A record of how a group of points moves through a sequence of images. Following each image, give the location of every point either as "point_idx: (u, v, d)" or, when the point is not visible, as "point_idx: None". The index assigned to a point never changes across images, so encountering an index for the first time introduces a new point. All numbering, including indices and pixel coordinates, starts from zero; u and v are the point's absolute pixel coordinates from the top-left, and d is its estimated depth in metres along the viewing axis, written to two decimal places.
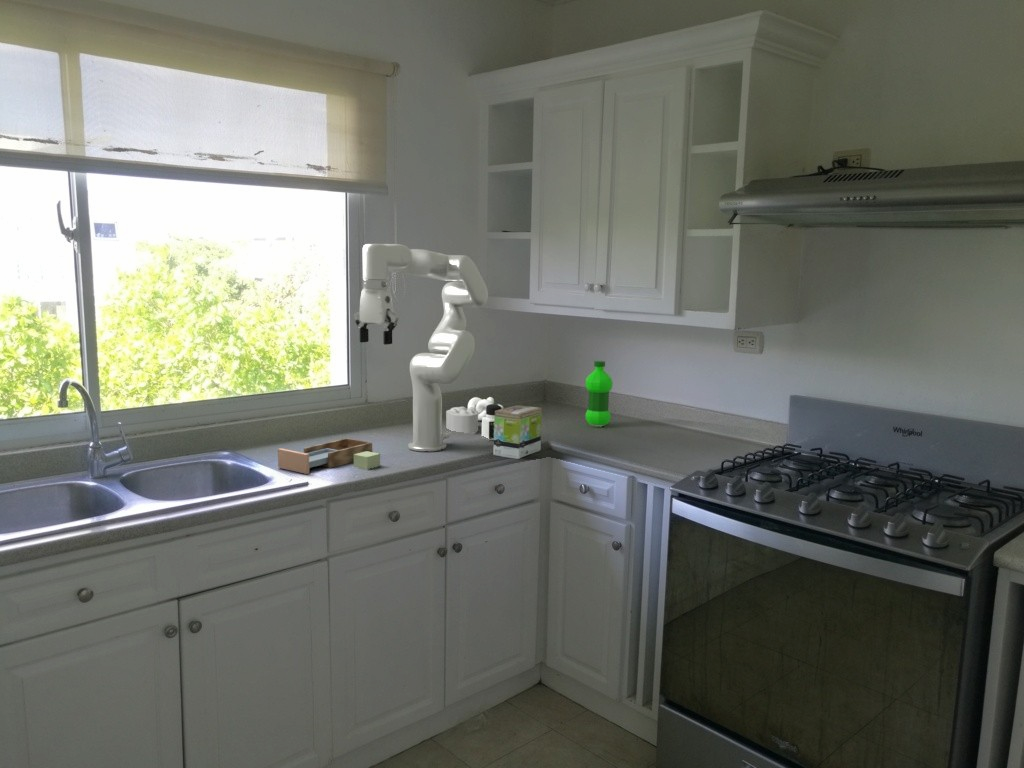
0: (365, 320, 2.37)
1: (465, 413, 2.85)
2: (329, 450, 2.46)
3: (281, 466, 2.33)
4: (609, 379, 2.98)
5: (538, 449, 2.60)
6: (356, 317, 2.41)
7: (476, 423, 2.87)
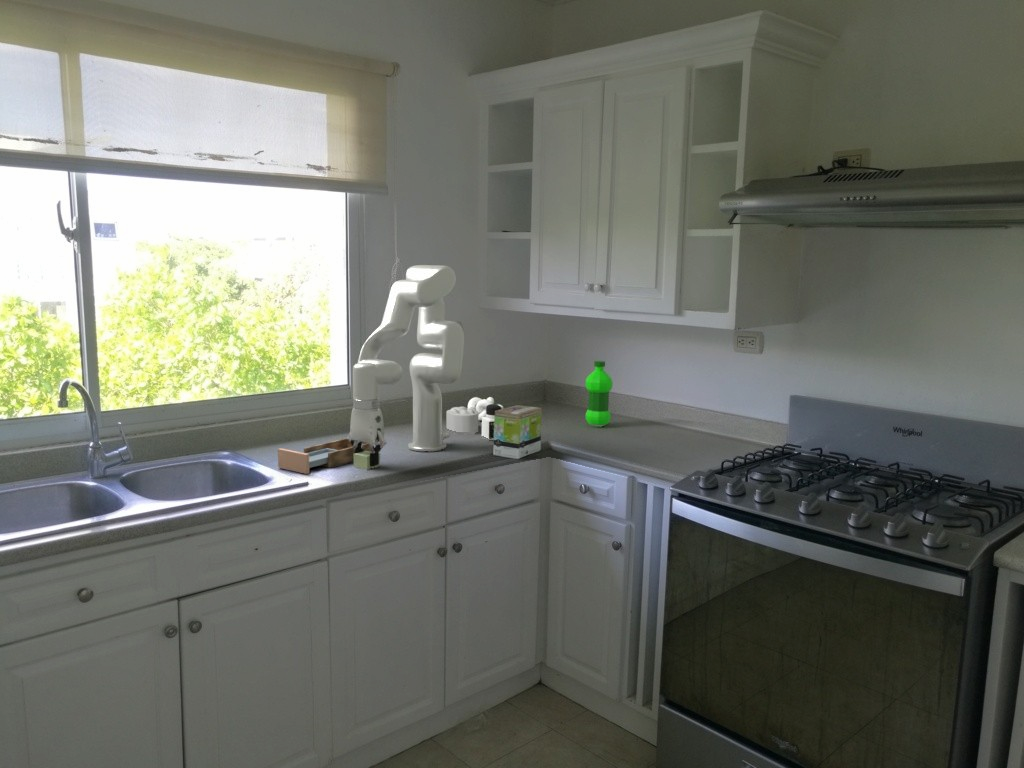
0: (356, 438, 2.36)
1: (465, 413, 2.85)
2: (329, 450, 2.46)
3: (281, 466, 2.33)
4: (609, 379, 2.98)
5: (538, 449, 2.60)
6: (350, 438, 2.39)
7: (476, 423, 2.87)
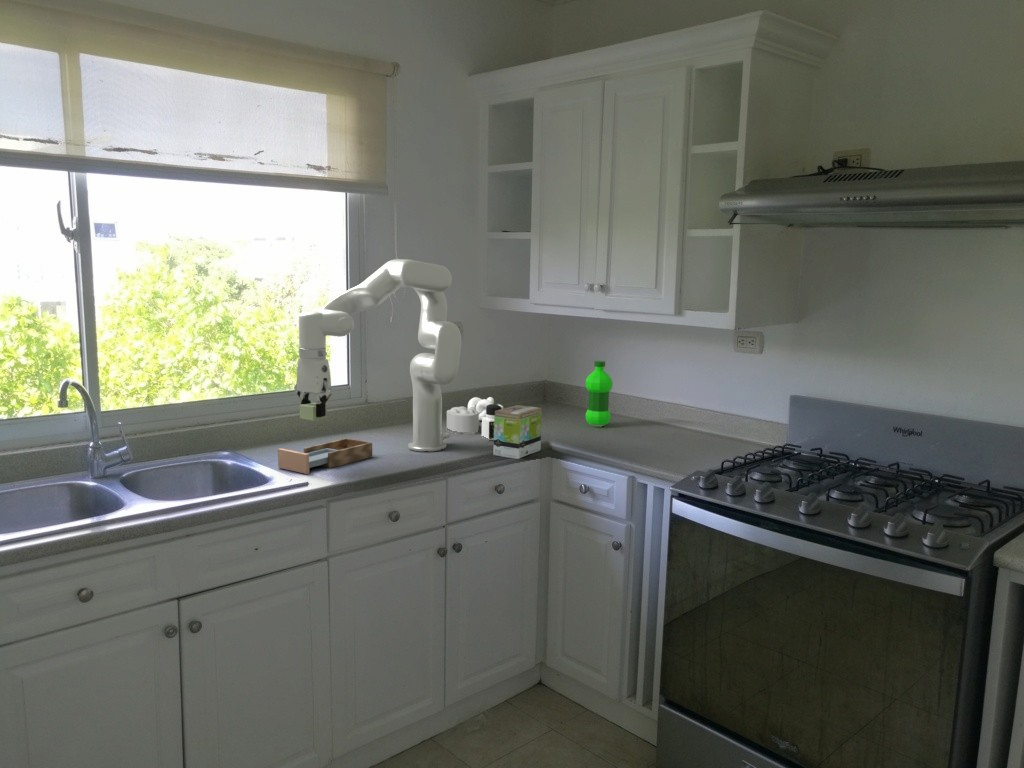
0: (302, 389, 2.31)
1: (466, 413, 2.86)
2: (329, 450, 2.46)
3: (281, 466, 2.33)
4: (609, 379, 2.98)
5: (538, 449, 2.60)
6: (297, 389, 2.35)
7: (477, 423, 2.87)
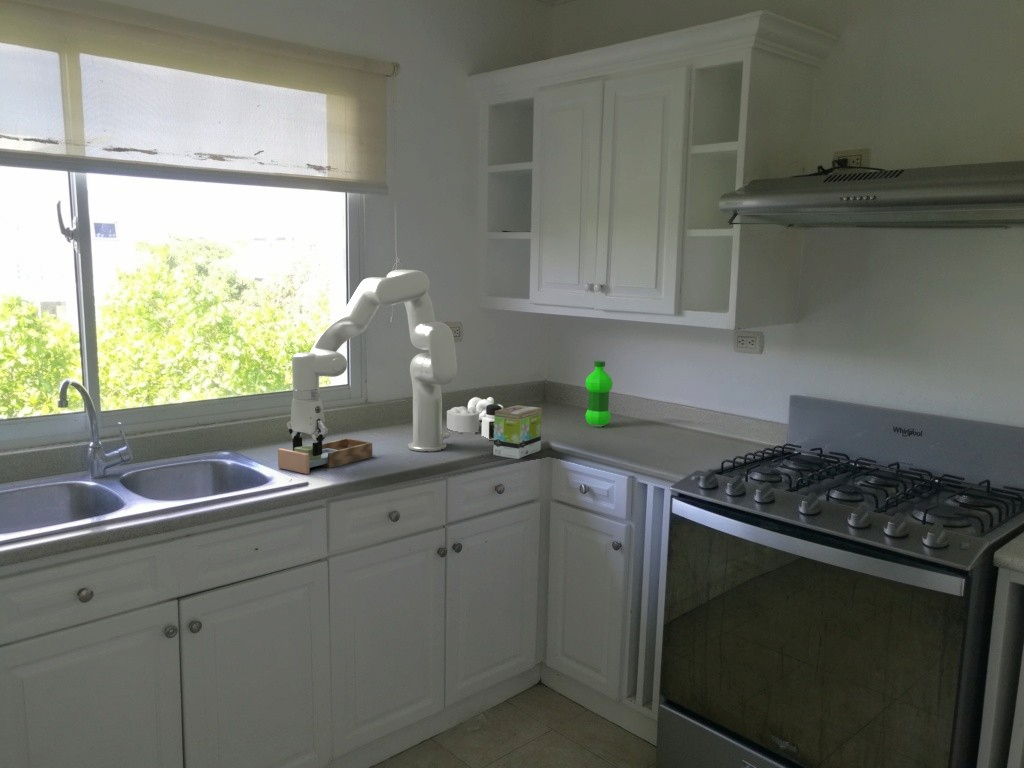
0: (296, 429, 2.33)
1: (466, 413, 2.86)
2: (329, 450, 2.46)
3: (281, 466, 2.33)
4: (609, 379, 2.98)
5: (538, 449, 2.60)
6: (289, 426, 2.37)
7: (477, 423, 2.88)
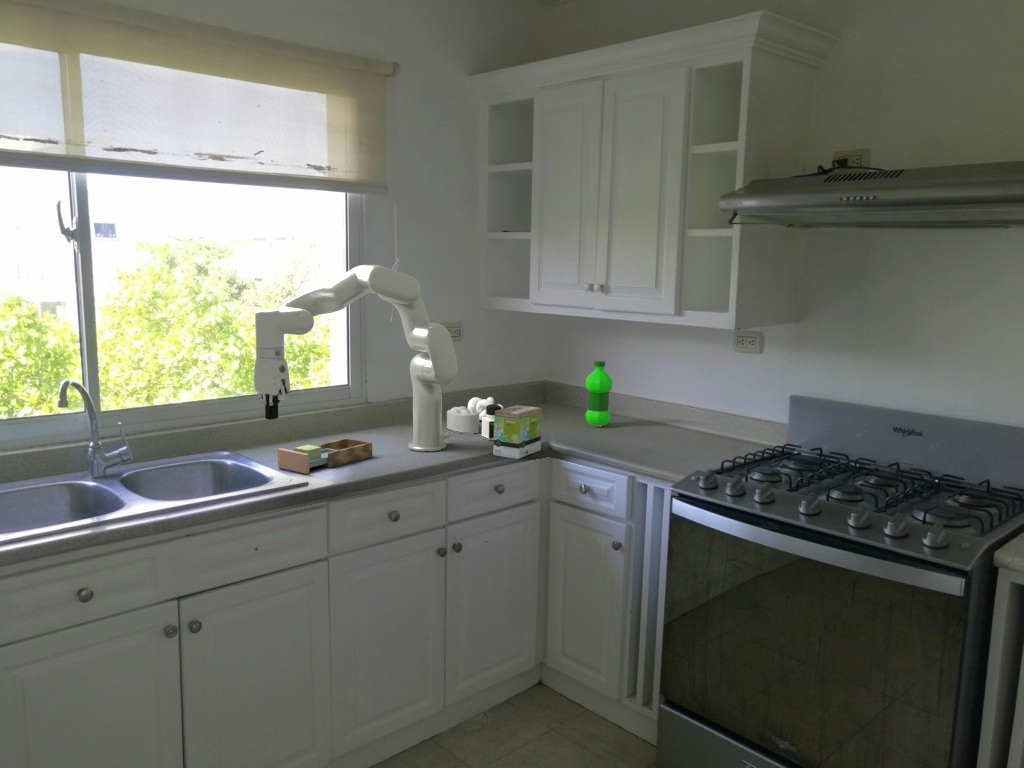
0: (260, 390, 2.21)
1: (467, 413, 2.86)
2: (329, 450, 2.46)
3: (281, 466, 2.33)
4: (609, 379, 2.98)
5: (538, 449, 2.60)
6: (260, 394, 2.23)
7: (477, 423, 2.88)
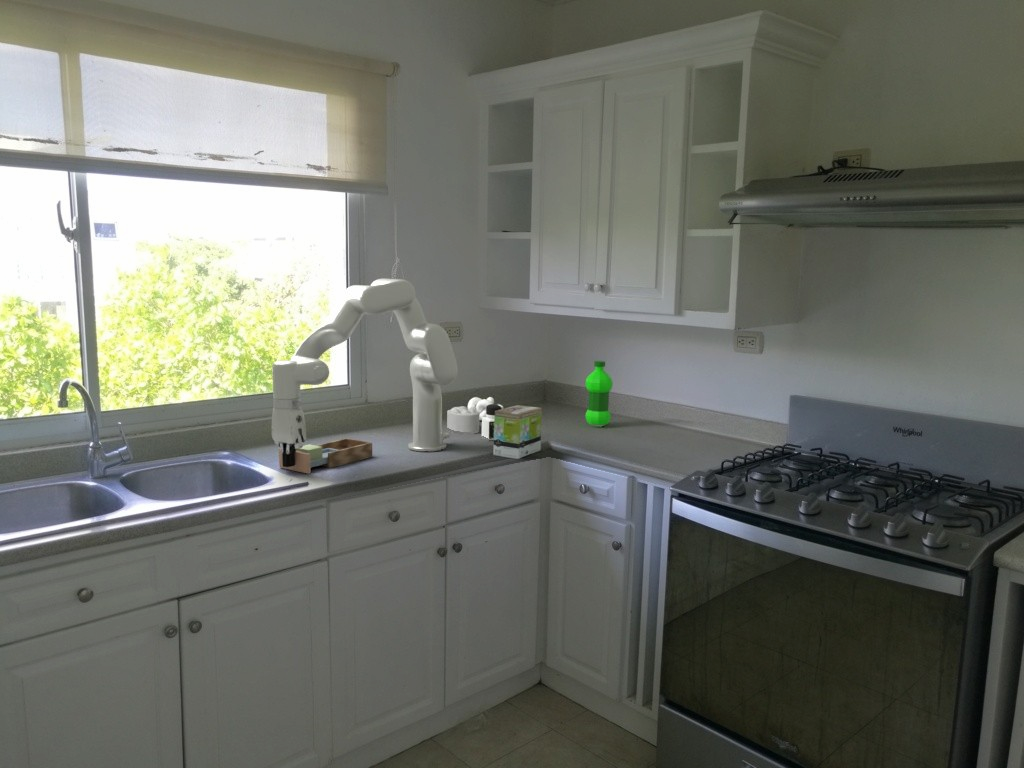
0: (277, 439, 2.27)
1: (467, 413, 2.86)
2: (330, 450, 2.46)
3: (282, 466, 2.33)
4: (609, 379, 2.98)
5: (538, 449, 2.60)
6: (277, 442, 2.30)
7: (478, 423, 2.88)
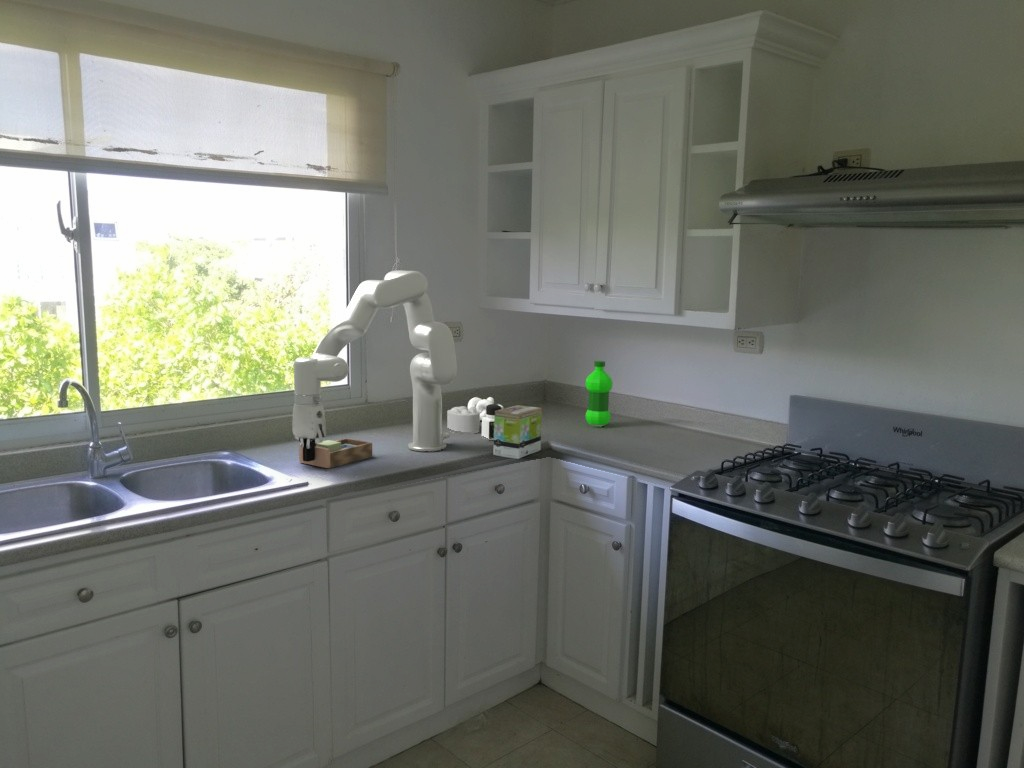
0: (297, 434, 2.34)
1: (467, 413, 2.86)
2: (348, 445, 2.52)
3: (302, 461, 2.39)
4: (609, 379, 2.98)
5: (538, 449, 2.60)
6: (298, 437, 2.36)
7: (478, 422, 2.88)
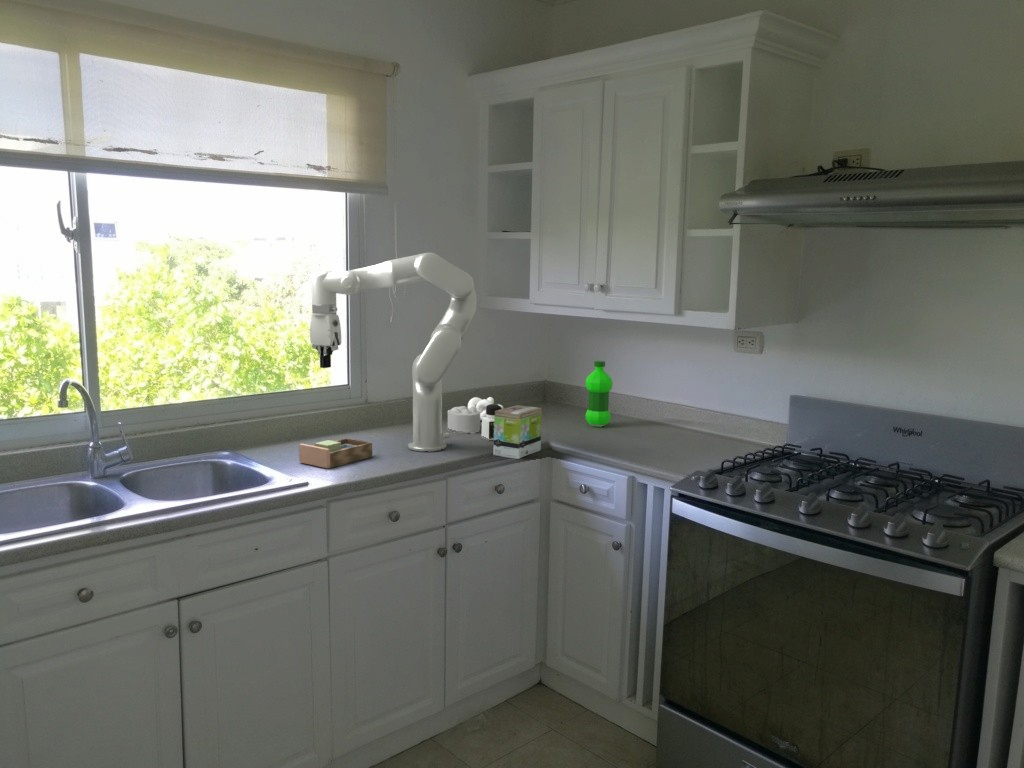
0: (315, 342, 2.53)
1: (468, 412, 2.87)
2: (348, 445, 2.52)
3: (302, 461, 2.39)
4: (609, 379, 2.98)
5: (538, 449, 2.60)
6: (315, 346, 2.55)
7: (478, 422, 2.89)
